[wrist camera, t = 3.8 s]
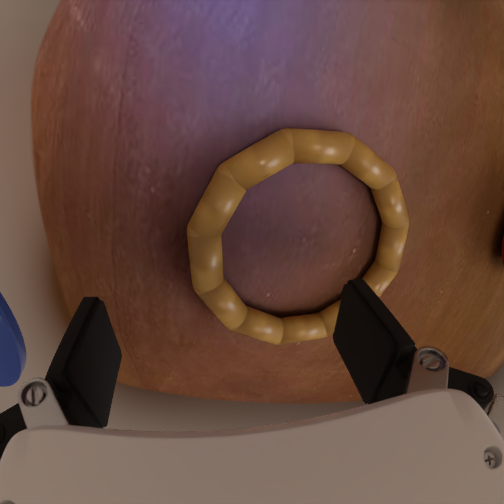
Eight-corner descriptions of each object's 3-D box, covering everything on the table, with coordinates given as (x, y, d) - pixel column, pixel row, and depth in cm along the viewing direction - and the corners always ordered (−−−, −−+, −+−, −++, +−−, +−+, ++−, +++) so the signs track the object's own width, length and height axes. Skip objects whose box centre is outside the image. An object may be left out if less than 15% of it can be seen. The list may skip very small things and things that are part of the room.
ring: (200, 339, 19) (201, 358, 18) (182, 129, 13) (179, 131, 12) (375, 316, 21) (385, 329, 20) (408, 140, 15) (426, 144, 14)
